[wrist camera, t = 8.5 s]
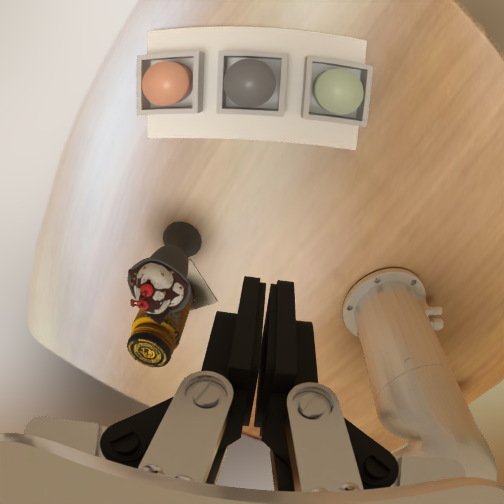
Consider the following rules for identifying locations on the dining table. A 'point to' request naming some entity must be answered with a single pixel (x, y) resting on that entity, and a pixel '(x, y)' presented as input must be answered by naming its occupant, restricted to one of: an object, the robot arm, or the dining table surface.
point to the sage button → (338, 91)
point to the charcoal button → (249, 83)
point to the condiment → (166, 326)
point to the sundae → (165, 274)
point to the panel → (283, 99)
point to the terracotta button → (167, 83)
